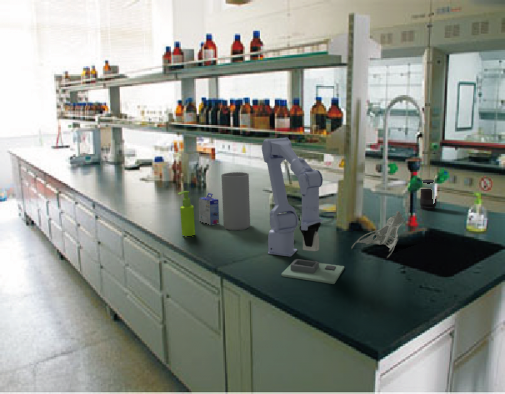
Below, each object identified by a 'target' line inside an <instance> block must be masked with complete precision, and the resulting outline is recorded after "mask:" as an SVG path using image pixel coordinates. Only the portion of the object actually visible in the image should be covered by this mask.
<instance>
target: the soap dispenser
mask: <svg viewBox="0 0 505 394" xmlns="http://www.w3.org/2000/svg"><path fill="white" fill-rule="evenodd" d="M189 193H190V191H189V190H182V191H180V192H177V195H180V196H182V195H183V198H182V205H181V206H180V209H179V210H180V225H181V236H182V235H184V236H192V235H195V236H196V226H195V225H196V224H195V208H194V207H195V206H194V205H192V203H191V198H190V197H189ZM192 237H193V236H192Z"/></svg>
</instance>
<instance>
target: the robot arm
mask: <svg viewBox="0 0 505 394" xmlns="http://www.w3.org/2000/svg"><path fill="white" fill-rule="evenodd" d="M292 145H293V144H292V141H291V140H290V139H289V137H280V138H279V137H277V138H265V139H264V140H263V142H262V144H261V153H262V157H263V162H264V163H265V164H266V165H267V170H268V177H269V181H270V186H271V192H272V196H273V202H274V206H273V208H272V209H271V210H270V211H269V225H270V228H271V229H270V230H269V232H268V237H267V239H268V242H267V243H268V245H267V246H268V252H267V254H269V255H277V256H282V257H283V256H284V257H292V256H293V255H294V254H295V253H296V252H297V251H298V249H297V248H295V241H294V240H295V238H294V237H295V235H294V234H295V233H294V232H295V231H296V228H298V225H299V216H298V215H297V212H296V208H295V207H293V206H292V205H290V203H289V201H288V196H287V190H286V186H285V180H284V175H283V170H282V163H283V162H284V161H285V160H286V161H287V163H289V164H290V167H289V168H290V171H291V172H292V173H293V174H294V175H295V176H296V178H297V179H298V181H297V182H298V185H299V190H300V194H301V221H300V222H301V223H300V226H299V231H300V233H301V234H302V238H303V237H304V241H305V245H306V246H307V247H312V245H313V238H314V234H315V232H318V233H319V229H320V228H321V225H322V222H323V219H322V218H320V187H322V186H323V183H324V179H323V175H322V173H321V171H320V170H319V169H314V168H312V167H311V166H310V165H309V164H308V163H307V161H306V160H305V159H304V158H303V157H299V156H298V155H297V154H296V152H295V151H294V149H293V147H292ZM278 213H284V214H278Z"/></svg>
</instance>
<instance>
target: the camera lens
mask: <svg viewBox="0 0 505 394" xmlns="http://www.w3.org/2000/svg"><path fill="white" fill-rule="evenodd" d="M434 180H435V179H422V180H421V181H423V183H427V184H430V183H433V182H434ZM419 198H420V199H419V205H420V209H421V210H424V211H434V210H436V209H435V208H436V205H437V196H436V199H435V203H434V204H433V199H432V190H431V189H420V197H419Z"/></svg>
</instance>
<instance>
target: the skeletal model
mask: <svg viewBox="0 0 505 394" xmlns="http://www.w3.org/2000/svg"><path fill="white" fill-rule="evenodd" d="M404 222H405V220H404V218H403V214H401V212H400V211H396V213H395V215H392V216H390V217H389V218H388V219H387V220H386V224H385V225H384V226H383V227H382V228H380V229H376V230H374V231H371V232H368V233H366V234H365V233H364V235H362V236H360V237H359V238H358V239H357V240H356V241H355V242H354V243H353V244H352V246H351V249H353V248H354V246H355V245H356V244H357V243H360V244H365V245H367V246H368V245H370V244H374V245H379V246H381V245H385V247H388V248H389V250H388V252H389V254H388V255H387V256H386V259H388V258H390V256H391V255H392V253H393V251H394V250H395V246H396V245H397V243H398V241H399V237H398V236H399V235H398V233H399V228H400V227H401V226H402V224H404ZM369 234H370V235H369ZM368 235H369V236H368ZM366 236H367V237H366ZM374 236H376V237H375V238H374ZM364 237H365V238H364Z"/></svg>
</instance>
